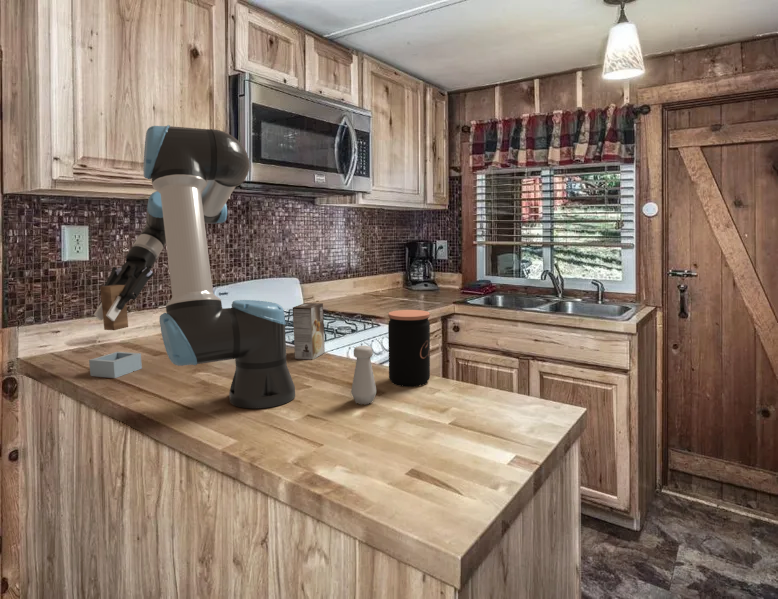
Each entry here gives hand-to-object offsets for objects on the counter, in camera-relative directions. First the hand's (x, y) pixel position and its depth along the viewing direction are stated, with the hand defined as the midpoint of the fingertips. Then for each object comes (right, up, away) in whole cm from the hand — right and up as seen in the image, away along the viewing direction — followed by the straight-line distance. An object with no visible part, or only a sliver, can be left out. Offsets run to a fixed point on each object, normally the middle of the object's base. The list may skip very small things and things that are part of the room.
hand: (104, 317), depth 144 cm
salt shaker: (+72, -19, -22) cm, 78 cm away
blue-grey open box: (+1, -16, +5) cm, 16 cm away
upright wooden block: (+1, -3, +4) cm, 5 cm away
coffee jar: (+83, -16, -7) cm, 85 cm away
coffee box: (+53, -13, +21) cm, 58 cm away
